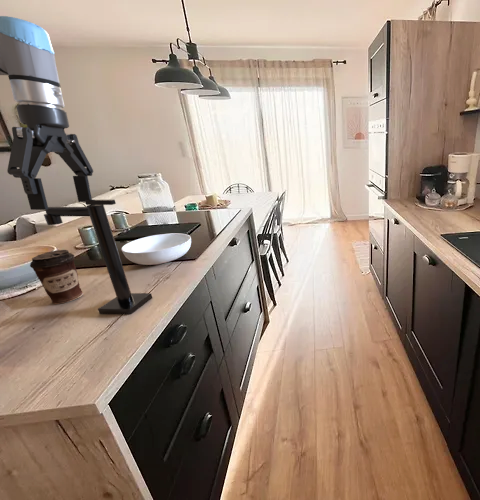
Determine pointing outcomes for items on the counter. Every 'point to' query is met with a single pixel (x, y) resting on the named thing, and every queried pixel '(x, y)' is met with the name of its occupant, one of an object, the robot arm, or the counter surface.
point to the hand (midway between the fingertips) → (64, 205)
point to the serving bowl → (157, 248)
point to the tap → (104, 254)
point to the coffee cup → (57, 275)
